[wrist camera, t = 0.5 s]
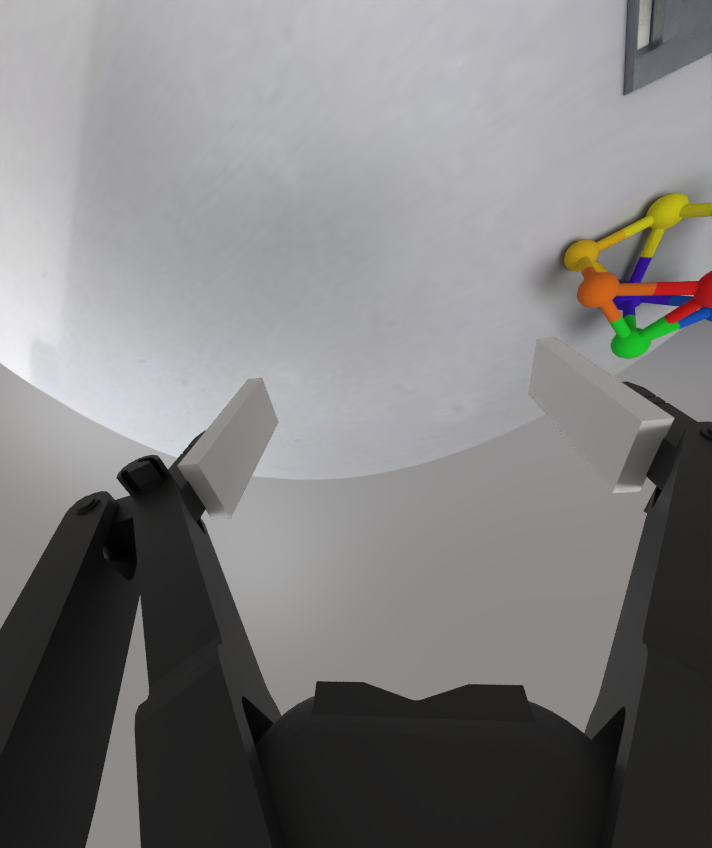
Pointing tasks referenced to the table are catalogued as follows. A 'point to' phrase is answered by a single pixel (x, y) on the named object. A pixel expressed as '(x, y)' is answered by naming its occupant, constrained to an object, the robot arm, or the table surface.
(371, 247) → the table surface
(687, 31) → the base
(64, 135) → the table surface
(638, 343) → the educational toy
